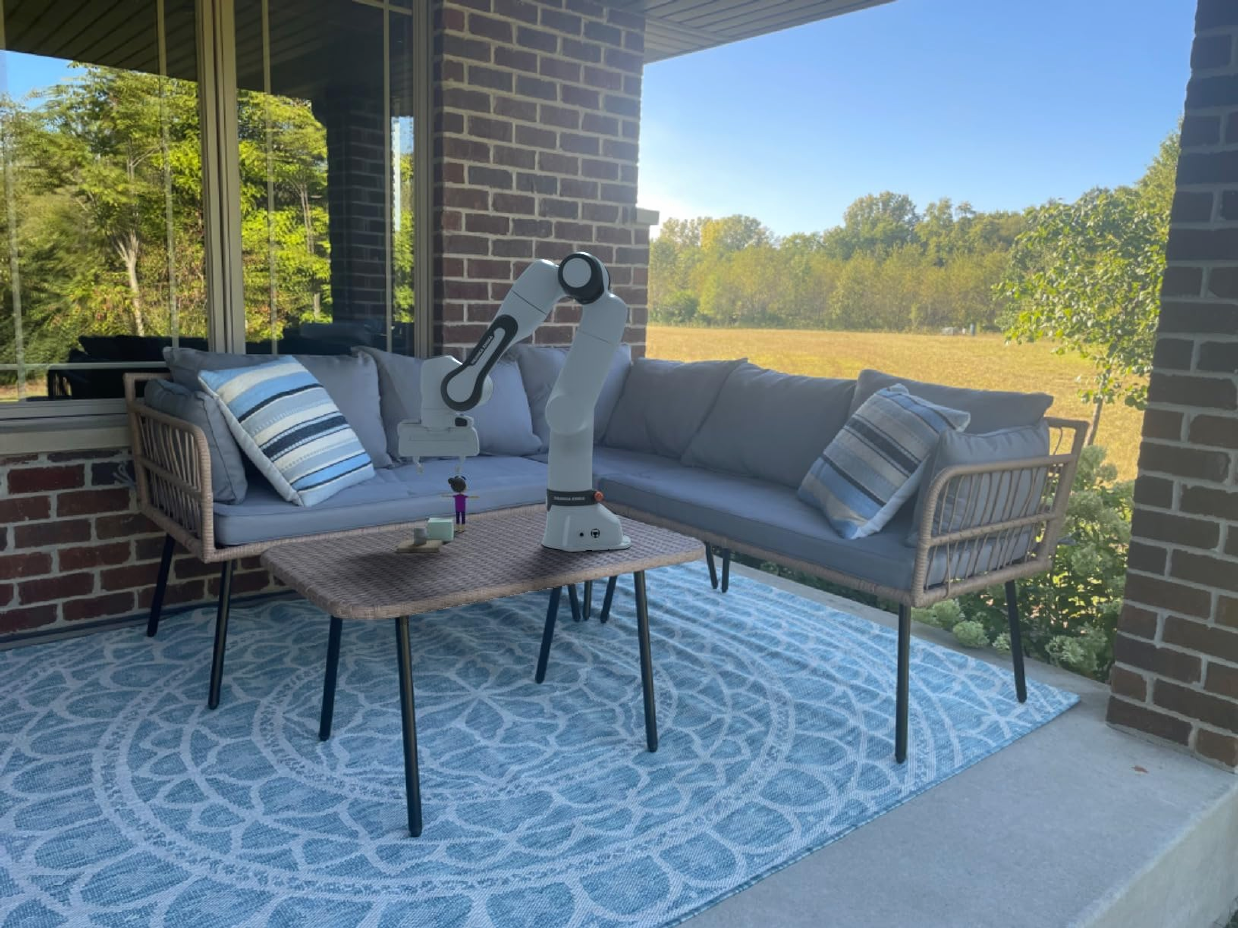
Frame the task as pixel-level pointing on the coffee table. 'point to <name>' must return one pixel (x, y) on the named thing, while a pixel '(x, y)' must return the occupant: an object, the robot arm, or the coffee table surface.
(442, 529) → the pale aqua cube
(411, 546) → the stand
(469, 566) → the coffee table surface
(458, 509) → the toy
